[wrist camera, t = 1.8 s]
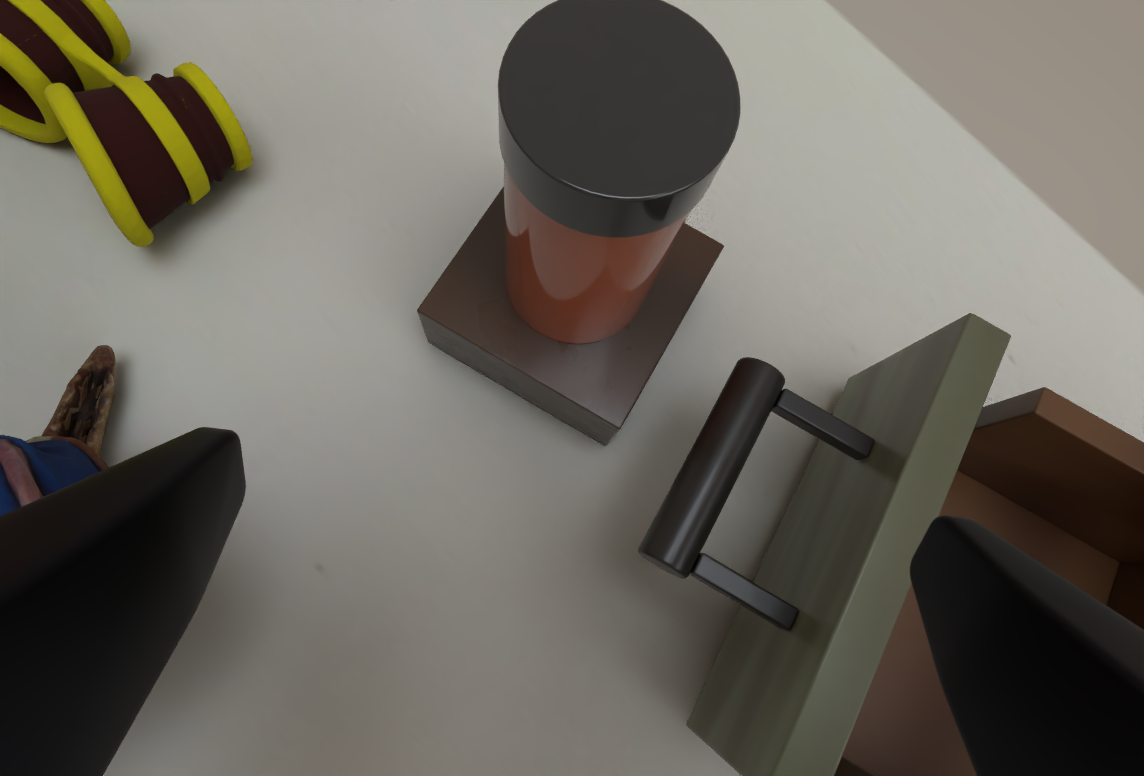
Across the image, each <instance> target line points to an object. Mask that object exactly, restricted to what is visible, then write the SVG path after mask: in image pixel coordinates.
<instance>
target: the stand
mask: <svg viewBox="0 0 1144 776" xmlns="http://www.w3.org/2000/svg"><path fill="white" fill-rule="evenodd" d="M723 247H724V245H722V244H721V243H719V242H717V241H715V240H714V239H712V238H710V237H708V236H706V235H705V234H703V233H701V232H699V231H698V230H696V229H694V228H692V227H691V226H689V225H687V224H685V223H684V225H683V227H682V229H681V231H680V233H679V235H678V237H677V239H676V240H675V242H674V244H673V246H672V248H671V250H670V252H669V254H668V256H667V258H666V260H665V261H664V263H663V265H662V267H661V269H660V271H659V273H658V275H657V277H656V279H655V281H654V282H653V284H652V286H651V288H650V290H649V292H648V294H647V296H646V298H645V300H644V302H643V303H642V305H641V307H640V309H639V311H638V313H637V314H636V316H635V317H634V318H633V320H632V321H631V322H630V323H629V324H628V325H627V326H626V327H624V328H623V329H622V330H621V331H619V332H618V333H616V334H614V335H613V336H611V337H608V338H606V339H604V340H600V341H597V342H592V343H584V344H574V343H565V342H561V341H557V340H554V339H551V338H548V337H546V336H544V335H542V334H540V333H539V332H537V331H536V330H534V329H533V328H531V327H530V326H529V325H528V324H527V323H526V322H525V321H524V320H523V319H522V318H521V317H520V316H519V315H518V313H517V312H516V310H515V309H514V307H513V305H512V303H511V301H510V299H509V296H508V293H507V290H506V285H505V268H504V187H503V188H502V190H501V191H500V192H499V194H498V195H497V197H496V198H495V200H494V201H493V202H492V204H491V205H490V207H489V208H488V210H487V211H486V212H485V214H484V215H483V217H482V218H481V220H480V221H479V222H478V224H477V225H476V227H475V228H474V230H473V231H472V232H471V234H470V235H469V237H468V238H467V240H466V241H465V242H464V244H463V245H462V247H461V248H460V250H459V251H458V252H457V254H456V255H455V257H454V258H453V260H452V261H451V262H450V264H449V265H448V267H447V268H446V270H445V271H444V272H443V274H442V275H441V277H440V278H439V279H438V281H437V282H436V284H435V285H434V287H433V288H432V289H431V291H430V292H429V294H428V295H427V297H426V298H425V299H424V301H423V302H422V304H421V305H420V307H419V308H418V310H417V311H418V314H419V317H420V320H421V323H422V326H423V328H424V331H425V334H426V337H427V340H428V342H429V343H431V344H432V345H434V346H436V347H437V348H439V349H441V350H442V351H444V352H446V353H448V354H449V355H451V356H453V357H454V358H456V359H458V360H459V361H461V362H463V363H465V364H466V365H468V366H470V367H471V368H473V369H475V370H477V371H478V372H480V373H482V374H483V375H485V376H487V377H488V378H490V379H492V380H494V381H495V382H497V383H499V384H500V385H502V386H504V387H505V388H507V389H509V390H511V391H512V392H514V393H516V394H517V395H519V396H521V397H523V398H524V399H526V400H528V401H529V402H531V403H533V404H534V405H536V406H538V407H540V408H541V409H543V410H545V411H546V412H548V413H550V414H551V415H553V416H555V417H557V418H558V419H560V420H562V421H563V422H565V423H567V424H569V425H570V426H572V427H574V428H575V429H577V430H579V431H580V432H582V433H584V434H586V435H587V436H589V437H591V438H592V439H594V440H596V441H597V442H599V443H601V444H603V445H604V446H606V445H607V444H608V443H609V442H610V440H611V439H612V438H613V437H614V436H615V435H616V433H617V432H618V431H619V430H620V429H621V427H622V425H623V424H624V422H625V420H626V418H627V416H628V415H629V413H630V411H631V409H632V408H633V406H634V404H635V402H636V401H637V399H638V397H639V395H640V394H641V392H642V390H643V388H644V387H645V385H646V383H647V381H648V379H649V378H650V376H651V374H652V372H653V371H654V369H655V367H656V365H657V364H658V362H659V360H660V358H661V357H662V355H663V353H664V351H665V350H666V348H667V346H668V344H669V342H670V341H671V339H672V337H673V335H674V334H675V332H676V330H677V328H678V327H679V325H680V323H681V321H682V320H683V318H684V316H685V314H686V312H687V311H688V309H689V307H690V305H691V304H692V302H693V300H694V298H695V297H696V295H697V293H698V291H699V290H700V288H701V286H702V284H703V283H704V281H705V279H706V277H707V275H708V274H709V272H710V270H711V268H712V267H713V265H714V263H715V261H716V260H717V258H718V256H719V254H720V253H721V251H722V249H723Z"/></svg>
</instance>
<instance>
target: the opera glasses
mask: <svg viewBox="0 0 1144 776" xmlns="http://www.w3.org/2000/svg"><path fill="white" fill-rule="evenodd" d="M130 51H131V47H130V41H129V38H128V36H127V34H126V31H125V29H124V27H123V25H122V24H121V22H120V21H119V19H118V17H117V16H116V14H115V13H114V11H113V10H112V9H111V7H110V6H109V5H108V4H107V2H106V1H105V0H0V127H1V128H3V129H5V130H7V131H9V132H11V133H13V134H16V135H19V136H21V137H24V138H27V139H30V140H32V141H36V142H41V143H56V142H59V141H62V140H64V139H65V138H66V137H68V139H69V141H70V143H71V145H72V146H73V148H74V150H75V152H76V154H77V156H78V157H79V159H80V161H81V163H82V165H83V167H84V168H85V170H86V172H87V174H88V176H89V178H90V179H91V181H92V183H93V185H94V187H95V189H96V190H97V192H98V194H99V196H100V198H101V199H102V201H103V203H104V205H105V207H106V209H107V210H108V212H109V214H110V215H111V217H112V219H113V220H114V222H115V224H116V225H117V226H118V228H119V229H120V230H121V232H122V233H123V234H124V236H125V237H126V238H127V239H128V240H129V241H130V242H131V243H132V244H134V245H136V246H146V245H149V244H150V243H152V241H153V239H154V236H153V233H152V231H151V228H152V227H153V226H155V225H156V224H157V223H159V222H160V221H161V220H162V219H164V218H165V217H166V216H168V215H169V214H170V213H172V212H173V211H174V210H175V209H177V208H178V207H179V206H181V205H182V204H183V203H185V202H186V201H187V202H188V203H190V204H195V203H196V202H197V201H198V200H200V199H201V198H202V197H203V196H205V195H206V194H207V193H208V192H209V191H210V184H209V183H211V182H212V181H213V180H216V181H222V180H223V179H224V177H225V171H226V170H227V169H229V168H231V169H233V170H235V171H241V170H244V169H246V168H247V167H249V166H251V165H252V161H253V158H252V154H251V150H250V146H249V144H248V141H247V139H246V137H245V134H244V132H243V130H242V128H241V126H240V124H239V122H238V120H237V119H236V117H235V115H234V113H233V112H232V110H231V108H230V107H229V105H228V103H227V102H226V100H225V99H224V97H223V96H222V94H221V93H220V92H219V90H218V89H217V87H216V86H215V85H214V83H213V82H212V81H211V80H210V78H209V77H208V76H207V75H206V74H205V73H204V72H203V71H202V70H201V69H200V68H199V67H198V66H197V65H195V64H193V63H191V62H190V63H184V64H181V65H179V66H177V67H176V68H175V69H174V77H169V78H166V77H164V76H162V75H160V74H153V75H152V77H151V80H150V81H143V80H142V79H140V78H138V77H136V76H129V77H125V76H123V75H122V74H121V73H119V72H118V71H117V70H116V69H114V68H113V67H112V66H110V65H117V64H120V63H121V62H123V61H124V60H125V59H127V58H128V56H129V54H130ZM20 115H21V116H20ZM32 120H33V121H32Z"/></svg>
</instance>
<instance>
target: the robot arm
mask: <svg viewBox="0 0 1144 776" xmlns="http://www.w3.org/2000/svg"><path fill="white" fill-rule="evenodd" d="M245 488H246V483H245V474H244V466H243V459H242V451H241V443H240V439H239V437H238V435H237V434H236V433H235V432H234V431H232V430H225V429H217V428H209V427H201V428H198V429H195V430H193V431H190V432H188V433H186V434H184V435H182V436H179V437H177V438H175V439H173V440H170V441H168V442H166V443H164V444H161V445H159V446H157V447H155V448H152V449H150V450H148V451H146V452H143V453H141V454H139V455H137V456H134V457H132V458H130V459H128V460H125V461H123V462H121V463H119V464H116V465H114V466H112V467H110V468H107V469H105V470H103V471H101V472H98V473H96V474H94V475H92V476H89V477H87V478H85V479H83V480H80V481H78V482H76V483H74V484H71V485H69V486H67V487H65V488H62V489H60V490H58V491H56V492H53V493H51V494H49V495H47V496H44V497H42V498H40V499H38V500H35V501H33V502H31V503H29V504H26V505H24V506H22V507H20V508H17V509H15V510H13V511H11V512H8V513H6V514H4V515H2V516H0V776H103V774H104V773H105V771H106V769H107V767H108V765H109V764H110V762H111V760H112V758H113V757H114V755H115V753H116V751H117V750H118V748H119V746H120V744H121V743H122V741H123V739H124V737H125V736H126V734H127V732H128V730H129V729H130V727H131V725H132V723H133V721H134V720H135V718H136V716H137V714H138V713H139V711H140V709H141V707H142V706H143V704H144V702H145V700H146V699H147V697H148V695H149V693H150V692H151V690H152V688H153V686H154V684H155V683H156V681H157V679H158V677H159V676H160V674H161V672H162V670H163V669H164V667H165V665H166V663H167V662H168V660H169V658H170V656H171V655H172V653H173V651H174V649H175V648H176V646H177V644H178V642H179V640H180V639H181V637H182V635H183V633H184V632H185V630H186V628H187V626H188V624H189V623H190V621H191V619H192V617H193V615H194V613H195V611H196V609H197V607H198V605H199V603H200V601H201V599H202V596H203V594H204V592H205V590H206V587H207V585H208V583H209V580H210V578H211V576H212V573H213V571H214V568H215V566H216V564H217V561H218V559H219V557H220V554H221V552H222V550H223V547H224V545H225V543H226V540H227V538H228V536H229V533H230V531H231V529H232V526H233V524H234V521H235V519H236V517H237V514H238V512H239V510H240V507H241V505H242V502H243V499H244V496H245ZM910 578H911V582H912V586H913V590H914V593H915V597H916V600H917V604H918V607H919V611H920V614H921V618H922V621H923V625H924V628H925V632H926V635H927V639H928V642H929V646H930V649H931V653H932V656H933V660H934V663H935V667H936V670H937V673H938V677H939V680H940V683H941V686H942V689H943V691H944V694H945V697H946V700H947V702H948V705H949V708H950V710H951V713H952V715H953V718H954V720H955V723H956V725H957V728H958V730H959V733H960V735H961V738H962V740H963V743H964V745H965V748H966V750H967V753H968V756H969V758H970V761H971V763H972V766H973V768H974V771H975V773H976V776H1144V630H1143V629H1142V628H1140V627H1138V626H1137V625H1135V624H1134V623H1132V622H1131V621H1129V620H1128V619H1126V618H1125V617H1123V616H1121V615H1120V614H1118V613H1117V612H1115V611H1114V610H1112V609H1111V608H1109V607H1108V606H1106V605H1104V604H1103V603H1101V602H1100V601H1098V600H1097V599H1095V598H1094V597H1092V596H1091V595H1089V594H1087V593H1086V592H1084V591H1083V590H1081V589H1080V588H1078V587H1077V586H1075V585H1074V584H1072V583H1070V582H1069V581H1067V580H1066V579H1064V578H1063V577H1061V576H1060V575H1058V574H1057V573H1055V572H1053V571H1052V570H1050V569H1049V568H1047V567H1046V566H1044V565H1043V564H1041V563H1040V562H1038V561H1036V560H1035V559H1033V558H1032V557H1030V556H1029V555H1027V554H1026V553H1024V552H1023V551H1021V550H1019V549H1018V548H1016V547H1015V546H1013V545H1012V544H1010V543H1009V542H1007V541H1006V540H1004V539H1002V538H1001V537H999V536H998V535H996V534H995V533H993V532H992V531H990V530H989V529H987V528H985V527H984V526H982V525H981V524H979V523H978V522H976V521H974V520H972V519H969V518H964V517H955V516H947V515H942V516H938V517H936V518H935V519H934V520H933V521H932V522H931V524H930V526H929V528H928V530H927V531H926V533H925V535H924V537H923V539H922V541H921V543H920V544H919V546H918V548H917V550H916V552H915V554H914V556H913V557H912V560H911V564H910Z"/></svg>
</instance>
